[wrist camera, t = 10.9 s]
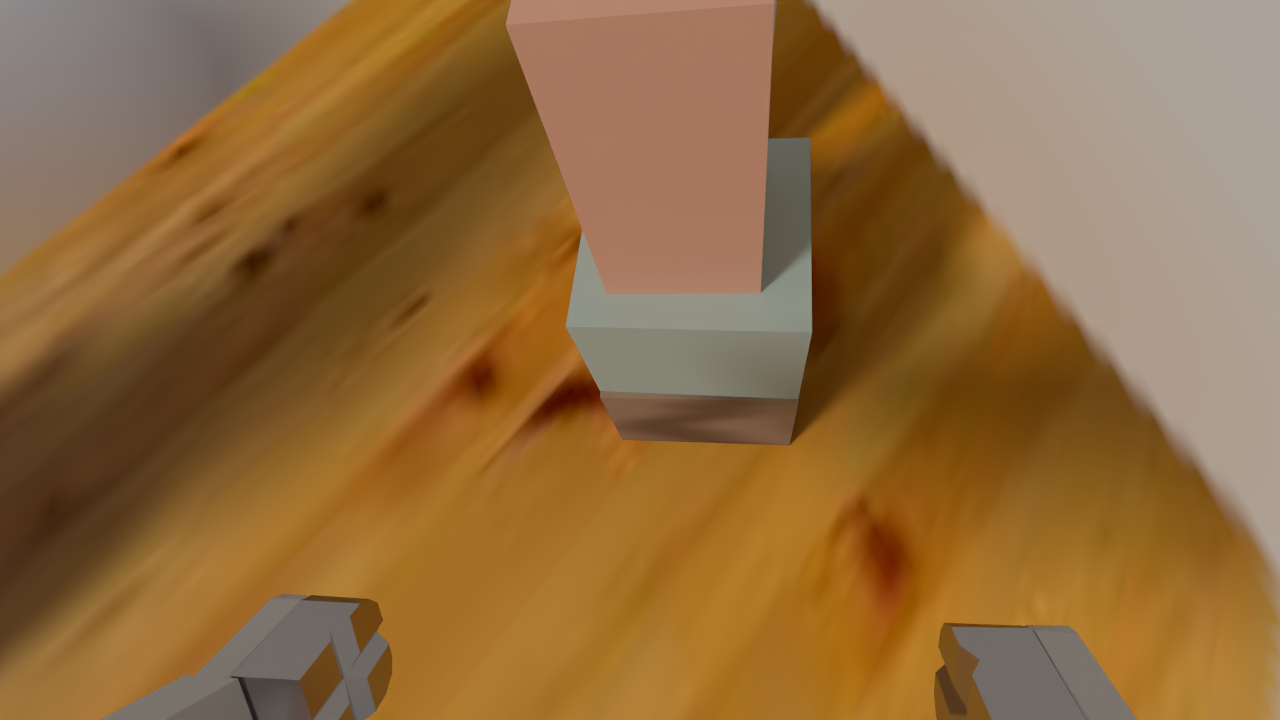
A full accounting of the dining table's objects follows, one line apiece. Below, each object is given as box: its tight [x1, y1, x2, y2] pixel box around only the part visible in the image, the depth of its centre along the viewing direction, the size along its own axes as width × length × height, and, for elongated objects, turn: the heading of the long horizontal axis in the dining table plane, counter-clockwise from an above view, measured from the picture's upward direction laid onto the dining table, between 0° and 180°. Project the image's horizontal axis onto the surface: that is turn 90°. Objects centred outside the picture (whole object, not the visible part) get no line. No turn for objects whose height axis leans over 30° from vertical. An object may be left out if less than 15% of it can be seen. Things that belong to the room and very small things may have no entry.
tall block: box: [506, 0, 774, 294], centre depth 15 cm, size 4×4×9 cm
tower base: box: [600, 391, 799, 445], centre depth 26 cm, size 7×7×5 cm
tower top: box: [566, 137, 812, 399], centre depth 22 cm, size 7×7×5 cm
